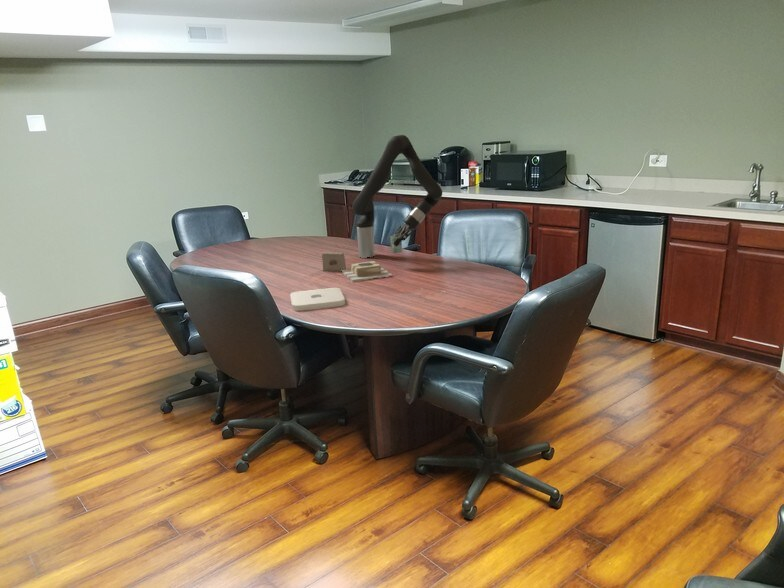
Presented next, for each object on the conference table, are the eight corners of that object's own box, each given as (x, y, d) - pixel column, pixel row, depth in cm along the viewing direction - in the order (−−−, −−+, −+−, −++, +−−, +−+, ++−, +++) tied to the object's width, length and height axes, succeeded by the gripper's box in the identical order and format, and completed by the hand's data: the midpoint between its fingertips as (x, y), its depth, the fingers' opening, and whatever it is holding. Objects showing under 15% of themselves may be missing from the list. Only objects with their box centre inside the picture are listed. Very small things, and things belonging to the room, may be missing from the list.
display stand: (341, 272, 297) (340, 262, 296) (378, 267, 303) (378, 257, 301) (352, 282, 277) (351, 271, 275) (392, 276, 283) (391, 266, 281)
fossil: (322, 271, 302) (321, 253, 299) (325, 269, 305) (324, 251, 303) (343, 271, 298) (342, 253, 295) (346, 270, 301) (345, 252, 298)
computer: (290, 298, 258) (289, 292, 257) (339, 292, 262) (339, 286, 261) (292, 312, 237) (292, 306, 236) (346, 306, 241) (345, 300, 240)
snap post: (391, 251, 298) (390, 234, 295) (399, 250, 299) (398, 233, 297) (393, 253, 294) (393, 236, 291) (401, 252, 295) (401, 235, 293)
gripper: (404, 211, 300) (383, 237, 300) (414, 215, 287) (392, 242, 287) (414, 221, 303) (393, 246, 303) (424, 225, 290) (403, 251, 290)
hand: (393, 244), depth 295 cm, fingers closed on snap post, 4 cm apart
